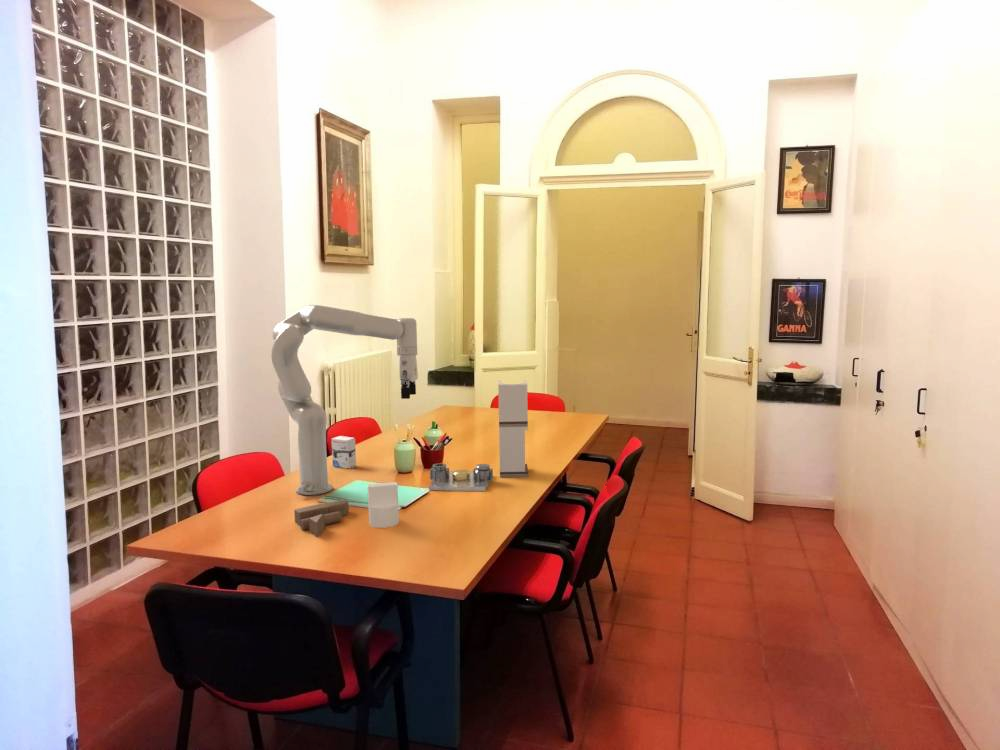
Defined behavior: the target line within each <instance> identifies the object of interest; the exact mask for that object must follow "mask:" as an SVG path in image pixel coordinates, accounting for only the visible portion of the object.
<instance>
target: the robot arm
mask: <svg viewBox="0 0 1000 750" xmlns="http://www.w3.org/2000/svg"><path fill="white" fill-rule="evenodd" d="M417 328H418V326H417V320H416V319H415V318H413V317H412V318H411V317H405V318H404V317H402V318H396V319H395V318H389V317H383V316H378V315H372V314H366V313H363V312H360V311H354V310H350V309H349V310H348V309H342V308H339V307H338V308H337V307H331V306H326V305H325V306H324V305H319V304H309V305H305V306H303V307H302V308H301V309H300V310H298V311H296V312H294V313H293V314H292V315H290V316H288V317H287V318H286V319H283V320H282V321H281V322H279V323H278V324H276V326H275V327H274V329H273V330H272V338H273V341H274V342H273V345H272V349H271V354H270V355H271V362H272V366H273V368H274V371H275V373H276V375H277V378H278V383H277V389H278V392H279V395H280V397H281V400H282V401H283V404H284V405H285V408H286V410H287V412H288V414H289V416H290V418H291V419H292V421H293V422H294V423H296V424H297V425H298V431H297V447H298V448H297V449H298V464H299V483H300V485H298V486H297V487H296V489H295V490H296V491H295V492H296V493H297V494H298V495H303V496H317V495H322V494H326V493H329V492H331V491H332V490H333V488H334V486H333V484H331V483H330V482H329V479H328V478H329V477H328V457H327V455H328V454H327V453H328V452H327V437H326V436H327V423H328V422H327V420H328V419H327V413H326V412H325V409H324V408H323V407H322V405H320V404H319V403H316V402H314V400H313V398H312V396H311V394H312V385H311V382H310V381H309V379H308V377H307V376H306V373H305V372H304V369H303V367H302V365H301V363H300V359H299V356H298V355H299V354H298V351H299V349H300V346H301V345H302V344H303V342H304V337H305V336H306V335H307V334H309V333H311V331H312V330H316V331H317V330H318V331H325V332H331V333H338V334H343V335H349V336H365V337H372V338H373V337H374V338H378V339H385V340H390V341H394V340H396V354H397V355H396V356H398V357H399V381H400V398H401V399H402V400H406V399H407V400H409V399H410V398H411V395H412V396H413V395H416V394H417V390H416V389H417V385H416V381H417V380H418V378H419V376H418V375H419V373H418V363H417V356H418V335H417V334H418V332H417Z"/></svg>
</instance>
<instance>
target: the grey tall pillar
mask: <svg viewBox="0 0 1000 750" xmlns="http://www.w3.org/2000/svg"><path fill="white" fill-rule="evenodd" d="M497 384H498V385H497V386H498V387H497V388H498V389H497V391H498V436H499V437H498V439H499V440H498V441H499V444H498V445H499V449H498V451H499V452H498V453H499V477H500V478H529V469H528V468H529V466H528V463H526V431H529V427H528V426H529V425H528V424H529V422H528V421H529V418H528V417H529V416H528V415H529V413H528V412H529V411H528V408H529V407H528V383H527V380H526V379H523V383H522V382H521V383H512V384H511V383H509V384H508V383H502V382H501V380H498V381H497Z"/></svg>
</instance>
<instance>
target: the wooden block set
mask: <svg viewBox="0 0 1000 750" xmlns="http://www.w3.org/2000/svg"><path fill="white" fill-rule="evenodd" d="M349 504H350V503H349V500H348V499H341V500H335V501H331V502H326V503H318V504H314V505H309V506H308V505H307V506H304V507H299V508H296V509H295V508H294V512H293V513H294V522H295V524H296V523H297V525H298V526H299V525H300V526H299V527H300V530H302V531H305V530H306V529H307V530H309V533H310V534H311V535H313V536H315V537H316V538H318V537H319V536H320V535H321V534H322V533H323V532H324V531H325V530H326V526H327V525H331V524H336V523H340V522H341V521H342V517H345V516H346V515H348V514H349V513H350V508H349V507H350V506H349ZM307 530H306V531H307Z"/></svg>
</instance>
